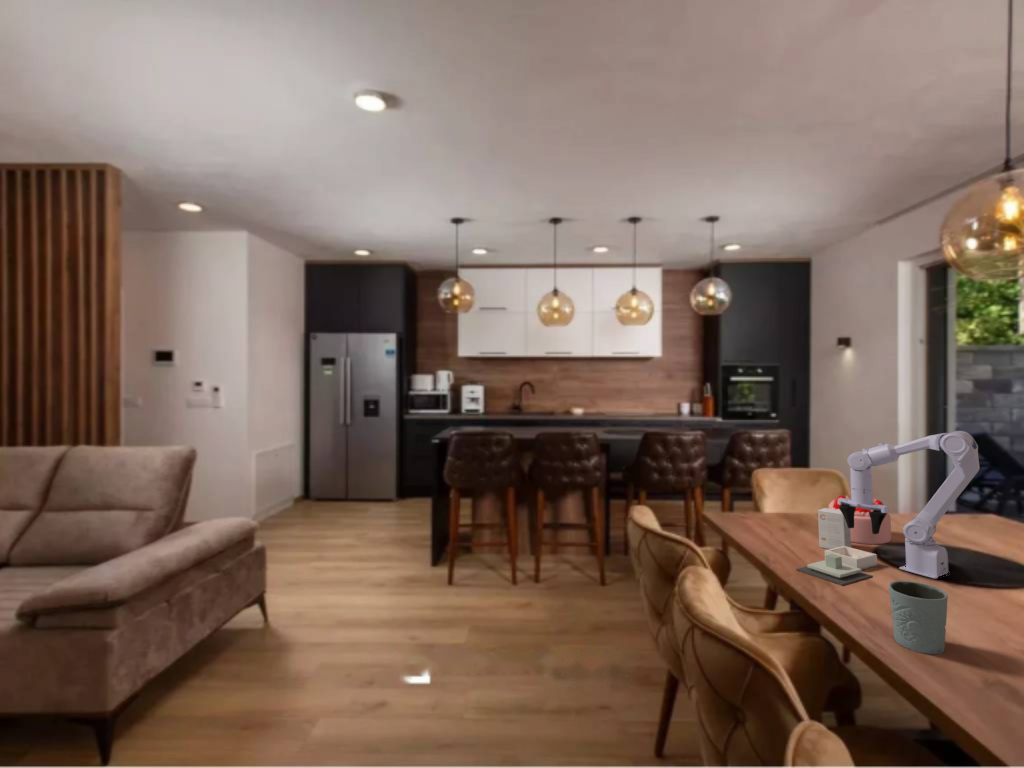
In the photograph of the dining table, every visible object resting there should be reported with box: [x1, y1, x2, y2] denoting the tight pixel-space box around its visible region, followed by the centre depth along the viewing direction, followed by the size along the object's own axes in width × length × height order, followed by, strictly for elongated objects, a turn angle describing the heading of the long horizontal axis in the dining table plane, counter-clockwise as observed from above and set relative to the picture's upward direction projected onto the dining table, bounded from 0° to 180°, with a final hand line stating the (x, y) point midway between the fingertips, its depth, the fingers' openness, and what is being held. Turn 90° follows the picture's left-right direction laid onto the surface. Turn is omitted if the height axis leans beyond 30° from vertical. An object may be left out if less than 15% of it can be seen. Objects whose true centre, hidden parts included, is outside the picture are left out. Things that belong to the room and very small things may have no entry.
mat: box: [795, 565, 873, 586], centre depth 151 cm, size 14×14×1 cm
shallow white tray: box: [824, 546, 878, 571], centre depth 159 cm, size 10×10×4 cm
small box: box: [817, 507, 852, 550], centre depth 175 cm, size 8×6×13 cm
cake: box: [827, 494, 892, 545], centre depth 186 cm, size 20×20×14 cm
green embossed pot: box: [888, 580, 949, 655], centre depth 109 cm, size 10×10×12 cm
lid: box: [806, 554, 863, 578], centre depth 151 cm, size 10×10×5 cm
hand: (863, 530), depth 162 cm, fingers open, 7 cm apart
